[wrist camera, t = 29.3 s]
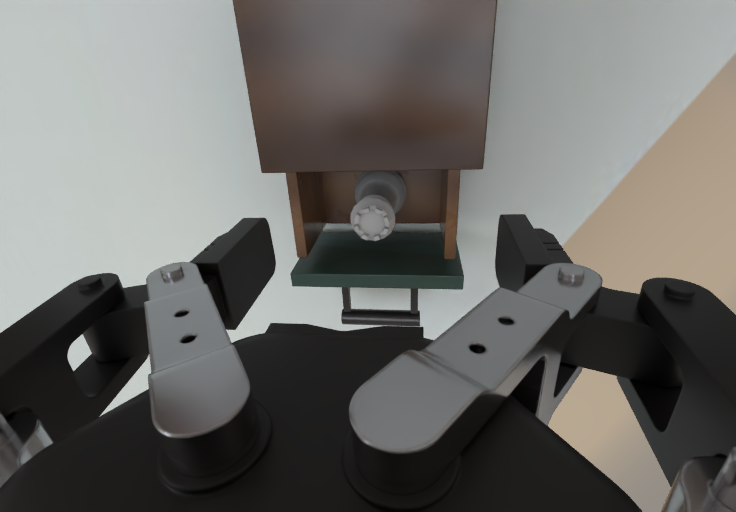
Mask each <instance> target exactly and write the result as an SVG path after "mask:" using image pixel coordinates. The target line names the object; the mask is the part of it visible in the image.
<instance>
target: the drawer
mask: <svg viewBox="0 0 736 512" xmlns="http://www.w3.org/2000/svg"><path fill="white" fill-rule="evenodd" d="M364 172H366V171H350V172H292V173H286V179H287V186H288V193H289V200H290V207H291V214H292V221H293V228H294V235H295V242H296V249H297V256H298V257H300V258H299V260H298V262H297V264H296V265H295V267H294V269H293V270H292V272H291V280H292V286H309V287H342V295H343V306H344V309H343V310H342V324H355V325H388V326H420V311H418V289H463V282H464V275H463V270H462V265H461V260H460V255H459V251H458V246H457V241H456V235H457V218H458V200H459V183H460V170H407V171H395V172H397V173H398V174H399V176H400V177H401V178H402V179H403V181H404V184H405V187H406V198H405V201H404V204H403V205H402V207H401V209H400V211H398V212H397V213H396V214H395V223H440V230H441V233H419V232H391V233H390V234H389V235H388V236H386V237H385V238H383V239H380V240H377V241H374V240H365V239H362V238H361V236H359V235H358V234H357V233H356V232H322V230H323V228H324V226H325V224H326V223H351V212H352V210H353V208H354V206H355V205H356V204H357V203H356V200H355V188H356V184H357V182H358V179H359V177H360V176H361V175H362V174H363V173H364ZM350 287H361V288H411V310H374V309H351V298H350Z"/></svg>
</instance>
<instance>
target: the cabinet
mask: <svg viewBox="0 0 736 512" xmlns="http://www.w3.org/2000/svg"><path fill="white" fill-rule="evenodd" d="M233 5H234V11H235V17H236V23H237V29H238V35H239V41H240V47H241V53H242V58H243V64H244V70H245V76H246V82H247V88H248V94H249V100H250V106H251V112H252V118H253V124H254V130H255V136H256V142H257V147H258V153H259V159H260V165H261V171H262V173H292V172H350V171H407V170H465V169H483V164H484V152H485V140H486V128H487V116H488V104H489V93H490V81H491V69H492V57H493V45H494V33H495V21H496V9H497V0H233Z"/></svg>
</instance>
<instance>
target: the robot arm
mask: <svg viewBox="0 0 736 512" xmlns="http://www.w3.org/2000/svg"><path fill="white" fill-rule="evenodd" d="M275 265H276V261H275V254H274V249H273V244H272V239H271V233H270V228H269V224H268V221H267V220H266V219H265V218H243V219H242V220H241V221H240V222H239V223H238V224H237V225H235V226H234V227H233V228H232V229H231V230H230V231H229V232H227V233H225V234H223V235H221V236H219V237H218V238H216V239H215V240H214V241H213V242H212V243H211V244H210V245H209V246H207V247H206V248H205V249H204V251H202V252H201V253H199V254H198V255H197V256H196V257H195V258H194V259H193V260H192V261H190V262H180V263H173V264H169V265H166V266H163V267H161V268H158V269H156V270H155V271H153V272H152V273H150V274H149V275H148V276H147V278H146V283H147V284H146V285H140V286H133V287H127V288H123V287H122V284H121V282H120V279H119V277H118V275H116V274H112V273H103V274H97V275H91V276H87V277H84V278H82V279H80V280H78V281H76V282H74V283H72V284H70V285H69V286H67V287H66V288H64V289H63V290H61V291H60V292H59V293H57V294H56V295H54V296H53V297H51V298H50V299H49V300H47V301H46V302H44V303H43V304H41V305H40V306H39V307H37V308H36V309H34V310H33V311H31V312H30V313H29V314H27V315H26V316H24V317H23V318H21V319H20V320H18V321H17V322H16V323H14V324H13V325H11V326H10V327H8V328H7V329H6V330H4V331H3V332H1V333H0V512H642V510H641V509H640V508H639V507H638V506H637V505H636V503H635V502H634V501H633V500H632V499H631V498H630V497H629V496H628V495H627V494H626V493H625V492H624V491H623V490H622V489H621V488H620V487H619V486H617V484H615V483H614V482H613V481H612V480H611V479H610V478H608V477H607V476H606V475H605V474H604V473H602V472H601V471H600V470H599V469H598V468H596V467H595V466H594V465H593V464H592V463H591V462H589V461H588V460H587V459H586V458H585V457H584V456H582V455H581V454H580V453H579V452H577V451H576V450H575V449H574V448H573V447H572V446H570V445H569V444H568V443H567V442H566V441H565V440H563V439H562V438H561V437H560V436H559V435H557V434H556V433H555V432H554V431H553V430H552V429H550V428H549V427H548V424H549V421H550V419H551V416H552V414H553V413H554V411H555V409H556V408H557V406H558V405H559V403H560V402H561V401H562V399H563V398H564V396H565V395H566V393H567V392H568V390H569V389H570V387H571V386H572V384H573V383H574V381H575V380H576V378H577V377H578V376H579V374H580V373H581V371H582V368H587V369H592V370H596V371H600V372H604V373H608V374H612V375H616V376H617V380H618V382H619V384H620V386H621V388H622V390H623V392H624V394H625V396H626V398H627V400H628V402H629V404H630V406H631V408H632V410H633V412H634V414H635V416H636V418H637V420H638V422H639V424H640V426H641V428H642V430H643V432H644V434H645V436H646V438H647V440H648V442H649V444H650V446H651V448H652V450H653V452H654V454H655V456H656V458H657V460H658V462H659V464H660V466H661V468H662V470H663V472H664V474H665V476H666V478H667V480H668V482H669V484H670V486H671V490H670V492H669V494H668V496H667V498H666V501H665V503H664V505H663V507H662V510H661V512H736V315H735V314H734V313H733V312H732V311H731V310H730V309H729V308H728V307H727V306H726V305H725V304H724V303H722V302H721V301H720V300H719V299H718V298H717V297H716V296H715V295H714V294H712V293H711V292H710V291H709V290H707V289H705V288H703V287H701V286H699V285H696V284H694V283H691V282H687V281H683V280H679V279H673V278H653V279H649V280H646V281H645V282H644V283H643V285H642V288H641V292H640V294H636V293H630V292H623V291H617V290H612V289H608V288H605V287H602V278H601V276H600V275H599V274H598V273H597V272H595V271H594V270H592V269H590V268H587V267H584V266H581V265H576V264H573V262H572V261H571V259H570V258H569V257H568V255H567V254H566V252H565V251H563V248H562V247H561V245H560V244H559V242H558V241H557V239H556V238H555V237H554V235H552V234H551V233H549V232H547V231H545V230H544V229H534V228H533V227H532V225H531V223H530V222H529V220H528V218H527V217H526V215H525V214H510V215H500V218H499V225H498V236H497V248H496V259H495V269H496V276H497V280H498V283H499V286H500V288H498V289H496V290H495V291H494V292H492V293H491V294H490V295H489V296H488V297H486V298H485V299H484V300H483V301H482V302H480V303H479V304H478V305H477V306H475V307H474V308H473V309H472V310H471V311H469V312H468V313H467V314H466V315H465V316H463V317H462V318H461V319H460V320H459V321H457V322H456V323H455V324H454V325H452V326H451V327H450V328H449V329H448V330H446V331H445V332H444V333H443V334H442V335H440V336H439V337H438V338H437V339H435V340H430V339H426V338H423V327H402V326H381V327H374V328H366V329H359V330H351V331H337V330H333V329H328V328H323V327H318V326H313V325H309V324H283V323H271V324H270V325H269V327H268V329H267V331H266V332H265V333H264V334H258V335H254V336H250V337H247V338H243V339H241V340H238V341H235V342H233V343H231V341H230V338H229V336H228V333H227V331H226V329H227V330H236V328H237V327H238V325H239V324H240V322H241V321H242V319H243V318H244V316H245V315H246V314H247V312H248V311H249V309H250V308H251V306H252V305H253V303H254V302H255V300H256V299H257V298H258V296H259V295H260V293H261V292H262V290H263V289H264V287H265V286H266V284H267V283H268V282H269V280H270V279H271V277H272V276H273V274H274V271H275ZM81 334H83V336H84V338H85V340H86V342H87V344H88V346H89V348H90V350H91V352H92V354H91V355H90V356H89V357H88V358H87V359H86V360H85V361H84V362H83V363H82V364H81V365H80V366H79V367H78V368H77V369H76V370H75V371H74V372H73V370H72V368H71V366H70V364H69V362H68V359H67V354H68V349H69V347H70V345H71V344H72V343H73V342H74V341H75V340H76V339H77V338H78V337H79V336H80V335H81ZM148 354H150V364H151V374H149V375H148V384H149V389H148V390H146V391H144V392H143V393H141V394H139V395H137V396H136V397H134V398H132V399H130V400H128V401H127V402H125V403H123V404H121V405H120V406H118V407H116V408H114V409H112V410H111V411H109V412H107V413H105V414H103V415H102V416H100V415H101V414H102V412H103V411H104V410H105V409H106V408H107V406H108V405H109V404H110V403H111V402H112V400H113V399H114V398H115V397H116V396H117V394H118V393H119V392H120V391H121V390H122V388H123V387H124V386H125V385H126V383H127V382H128V381H129V380H130V379H131V377H132V376H133V375H134V374H135V373H136V371H137V370H138V369H139V368H140V367H141V365H142V364H143V363H144V362H145V360H146V359H147V357H148ZM99 416H100V417H99Z"/></svg>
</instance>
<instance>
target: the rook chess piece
mask: <svg viewBox="0 0 736 512" xmlns="http://www.w3.org/2000/svg"><path fill="white" fill-rule="evenodd" d="M405 198H406V187H405V184H404V181H403V179H402V178H401V177H400V176H399V174H398V173H397V172H395V171H366V172H364V173H363V174H362V175H361V176H360V177H359V179H358V182H357V184H356V188H355V200H356V203H357V204H356V205H355V206H354V208H353V210H352V212H351V225H352V227H353V230H354V231H355V232H356V233H357V234H358V235H359V236H361V238H362V239H365V240H374V241H377V240H380V239H383V238H385V237H386V236H388V235H389V234H390V233H391V232H392V230H393V228H394V226H395V214H396V213H397V212H398V211H400V209H401V207H402V205H403V204H404V201H405Z"/></svg>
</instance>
